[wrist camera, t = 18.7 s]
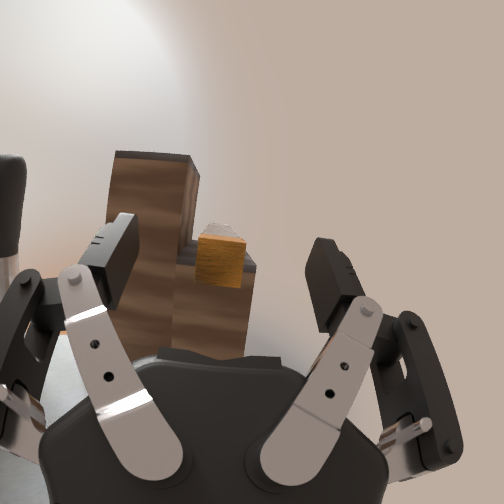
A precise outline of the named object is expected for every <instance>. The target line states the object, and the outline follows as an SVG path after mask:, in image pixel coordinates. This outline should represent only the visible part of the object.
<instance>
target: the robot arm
mask: <svg viewBox="0 0 504 504" xmlns="http://www.w3.org/2000/svg"><path fill="white" fill-rule="evenodd" d="M26 175H27V169H26V163H25V160H24V159H23V157H22V156H20V155H15V154H12V155H11V154H7V155H0V449H1V450H3V451H6V452H10V453H12V454H14V455H16V456H19V457H23V458H25V459H27V460H29V461H31V462H33V463H35V464H38V465H40V467H41V470H42V473H43V476H44V479H45V482H46V486H47V490H48V494H49V500H50V504H381V503H382V498H383V495H384V492H385V490H386V486H387V484H390V483H392V482H396V481H399V482H401V481H406V480H409V479H413V478H416V477H419V476H422V475H425V474H428V473H431V472H434V471H436V470H439V469H442V468H444V467H447V466H449V465H452V464H454V463H456V462H457V461H458V460H459V459H460V457H461V455H462V452H463V439H462V435H461V431H460V426H459V422H458V419H457V415H456V411H455V408H454V404H453V401H452V398H451V394H450V391H449V388H448V385H447V382H446V379H445V376H444V373H443V370H442V368H441V365H440V362H439V359H438V357H437V354H436V352H435V349H434V346H433V344H432V342H431V339H430V337H429V334H428V332H427V329H426V327H425V325H424V323H423V321H422V320H421V318H420V317H419V316H417V315H416V314H415V313H413V312H411V311H403V312H402V313H401V314H400V315H399V317H398V318H396V317H393V316H389V315H386V314H383V312H382V309H381V307H380V306H379V304H378V303H377V302H376V301H374V300H373V299H371V298H369V297H366V295H365V293H364V291H363V288H362V286H361V284H360V281H359V279H358V277H357V275H356V273H355V270H354V269H353V266H352V264H351V262H350V260H349V258H348V257H347V256H346V255H345V254H344V253H343V252H341V251H339V250H338V248H337V245H336V243H335V241H334V240H332V239H326V238H319V237H318V238H317V239H316V240H315V242H314V245H313V248H312V250H311V253H310V256H309V258H308V261H307V263H306V267H305V277H306V281H307V285H308V289H309V292H310V296H311V300H312V304H313V308H314V312H315V316H316V320H317V325H318V329H319V332H320V333H329V336H330V337H329V339H328V340H327V342H326V344H325V345H324V347H323V348H322V350H321V352H320V353H319V355H318V357H317V358H316V360H315V361H314V363H313V365H312V366H311V368H310V369H309V371H308V372H307V374H306V375H305V376H303V375H302V374H300V373H298V372H297V371H295V370H293V369H290V368H287V367H285V366H282V365H281V358H280V357H266V356H247V357H241V358H234V359H228V360H217V359H214V358H210V357H207V356H204V355H201V354H199V353H196V352H193V351H190V350H184V349H177V348H169V347H163V346H159V349H158V354H156V355H149V356H145V357H142V358H139V359H136V360H134V361H132V362H130V360H129V358H128V356H127V354H126V352H125V350H124V348H123V346H122V344H121V342H120V340H119V338H118V336H117V333H116V331H115V329H114V327H113V325H112V322H111V320H110V318H109V315H108V313H107V310H113V311H116V309H117V307H118V304H119V301H120V299H121V296H122V293H123V291H124V288H125V286H126V283H127V281H128V278H129V276H130V273H131V271H132V269H133V266H134V264H135V262H136V259H137V257H138V254H139V248H140V241H139V228H138V217H137V214H130V213H120V214H119V215H118V216H117V218H116V219H115V221H114V222H113V223H107V224H106V225H105V226H103V227H102V228H100V230H99V231H98V233H97V234H96V236H95V238H94V239H93V240H92V242H91V244H90V245H89V246H88V248H87V249H86V251H85V253H84V254H83V256H82V257H81V259H80V260H79V262H78V264H75V265H71V266H69V267H67V268H65V269H64V270H63V271H62V272H61V273H60V274H59V277H57V278H48V279H42V278H41V276H40V273H39V272H38V271H37V270H35V269H27V270H24V271H22V272H20V273H19V266H18V243H19V237H20V230H21V217H22V208H23V201H24V194H25V187H26V178H27V176H26ZM30 321H31V323H30V326H29V328H28V330H27V333H26V329H27V327H28V324H29V322H30ZM65 330H66V331H67V335H68V338H69V342H70V345H71V348H72V351H73V354H74V357H75V360H76V363H77V366H78V369H79V372H80V374H81V377H82V380H83V382H84V385H85V387H86V390H87V392H88V396H87V397H86V398H85V399H83V400H82V401H81V402H80V403H78V404H77V405H76V406H75V407H73V408H72V409H71V410H69V411H68V412H67V413H66V414H64V415H63V416H62V417H61V418H59V419H58V420H57V421H56V422H54V423H53V424H52V425H50V426H49V427H48V428H47V429H46V428H45V425H46V421H45V413H44V409H43V407H42V405H41V404H40V397H41V393H42V389H43V385H44V382H45V378H46V374H47V371H48V367H49V364H50V361H51V357H52V354H53V351H54V348H55V345H56V342H57V339H58V336H59V334H60V331H65ZM402 357H403V359H404V362H405V365H406V368H407V376H406V379H405V378H404V375H403V372H402V368H401V365H400V361H399V360H400V359H401V358H402ZM369 365H370V369H371V373H372V377H373V381H374V386H375V390H376V395H377V400H378V405H379V410H380V415H381V420H382V425H383V431H382V433H381V435H380V438H379V442H378V443H377V445H375V444H374V443H373V442H372V441H371V440H370V439H369V438H367V437H366V436H365V435H364V434H363V433H362V432H361V431H360V430H359V429H358V428H357V427H356V426H355V425H354V424H353V423H352V422H350V420H348V419H347V418H346V416H347V414H348V412H349V410H350V408H351V406H352V404H353V402H354V399H355V397H356V395H357V393H358V391H359V389H360V386H361V384H362V382H363V379H364V377H365V375H366V372H367V370H368V367H369Z"/></svg>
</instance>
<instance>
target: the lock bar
mask: <svg viewBox="0 0 504 504" xmlns="http://www.w3.org/2000/svg"><path fill="white" fill-rule="evenodd" d="M245 250H246V242H245V241H244V240H243V239H242V238H240V236H239V235H237V233H236V232H235V231H234V230H233V229H232V228H231V227H230V225H224V224H216V223H209V225H208V226H207V227H206V229H205V230H204V232H203V233H202V234H201V235H200V236H199V239H198V247H197V257H196V266H195V277H194V283H197V284H205V285H214V286H223V287H233V288H240V287H241V280H242V272H243V265H244V257H245Z"/></svg>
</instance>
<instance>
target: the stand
mask: <svg viewBox="0 0 504 504" xmlns="http://www.w3.org/2000/svg"><path fill="white" fill-rule="evenodd" d="M199 180H200V175H199V173H198V171H197V169H196V167H195V165H194V163H193V161H192V159H191V157H190V155H181V154H170V153H156V152H139V151H116V152H115V157H114V163H113V169H112V175H111V181H110V188H109V196H108V205H107V214H106V224H107V223H113V222H114V221H115V219H116V218H117V216H118V215H119V214H120V213H130V214H137V217H138V228H139V241H140V248H139V254H138V257H137V259H136V262H135V264H134V266H133V269H132V271H131V273H130V276H129V278H128V281H127V283H126V286H125V288H124V291H123V293H122V296H121V299H120V301H119V304H118V307H117V309H116V311H113V310H107V313H108V315H109V318H110V320H111V322H112V325H113V327H114V329H115V331H116V333H117V336H118V338H119V340H120V342H121V344H122V346H123V348H124V350H125V352H126V354H127V356H128V358H129V360H130V362H132V361H134V360H136V359H139V358H142V357H145V356H149V355H156V354H158V349H159V346H163V347H169V348H177V349H184V350H190V351H193V352H196V353H199V354H201V355H204V356H207V357H210V358H214V359H217V360H228V359H234V358H241V357H243V356H244V349H245V342H246V335H247V329H248V322H249V315H250V308H251V301H252V294H253V287H254V280H255V273H256V264H255V263H254V261H253V260H252V259H251V257H250V256H249V255H248V253H247V252H246V250H245V257H244V265H243V272H242V280H241V287H240V288H233V287H223V286H214V285H205V284H197V283H194V277H195V266H196V257H197V247H198V240H192V233H193V225H194V217H195V209H196V201H197V194H198V187H199ZM106 224H105V225H106Z"/></svg>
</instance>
